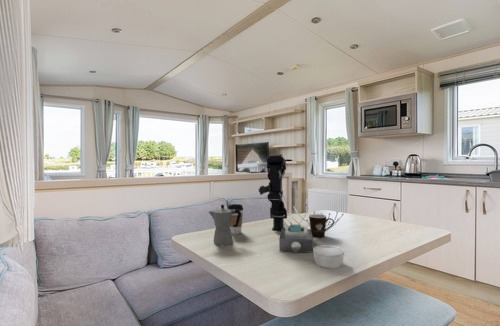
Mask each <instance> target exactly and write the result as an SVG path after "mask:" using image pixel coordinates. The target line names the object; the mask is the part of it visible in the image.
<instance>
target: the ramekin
mask: <svg viewBox="0 0 500 326" xmlns="http://www.w3.org/2000/svg"><path fill="white" fill-rule="evenodd" d="M312 253H313V256H314V262H315V264H316V265H317V266H318V267H321V268H325V269H336V268H337V269H339V268H340V267H341V266H342V265H343V260H344V255H345V251H344V250H343V249H342V248H340V247H338V246H334V245H328V244H326V245H317V246H313V252H312Z"/></svg>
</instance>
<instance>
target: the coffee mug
mask: <svg viewBox="0 0 500 326" xmlns="http://www.w3.org/2000/svg"><path fill="white" fill-rule="evenodd" d="M308 220H309V227H310V229H311V231H312V237H313V238H319V239H321V238H325V233H326V231H327V230H329V229H330V228H331V227H333V225H334V224H335V221H334V219H332V218H330V217H329V218H327V215H326V214H325V215H324V214H321V213H320V214H319V213H318V214H317V213H316V214H309V215H308ZM329 220H331V221H332V223H331V225H329V226H328V227H326V225H327V223H328V221H329Z"/></svg>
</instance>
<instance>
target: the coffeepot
mask: <svg viewBox="0 0 500 326" xmlns="http://www.w3.org/2000/svg"><path fill="white" fill-rule="evenodd" d="M220 207H221V208H217V209H215V210H211V211H208V214H209V215H210V216H211V217H212V219H213V222H214V223H213V224H214V226H215V229H214V236H213V241H212V242H214V243H215V244H217V245H216V246H219V245H224V246H229V245H232V244H233V242H234V241H233V234H232V233H231V229H230V225H231V219H232V214H235V213H237V214H238V215H237V220H236V224H235V225H233V227H237V226H238V223H239V220H240V217H241V212H240V211H239V210H238V209H235V210H230V209H228V208H225V204H221V205H220ZM214 243H213V244H214ZM231 243H232V244H231ZM215 244H214V245H215ZM228 244H229V245H228Z"/></svg>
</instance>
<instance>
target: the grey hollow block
mask: <svg viewBox="0 0 500 326" xmlns="http://www.w3.org/2000/svg"><path fill="white" fill-rule="evenodd" d="M307 227H308V226H301V231H290V225H286V226H285V228H284V229H283V228H282V229H281V230H280V234H279V238H278V240H279V244H278V245H279V246H278V247H279V252H295V253H298V252H299V253H313V248H314V239H313V238H314V237H312V231H311V228H310V229H308V228H307Z"/></svg>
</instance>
